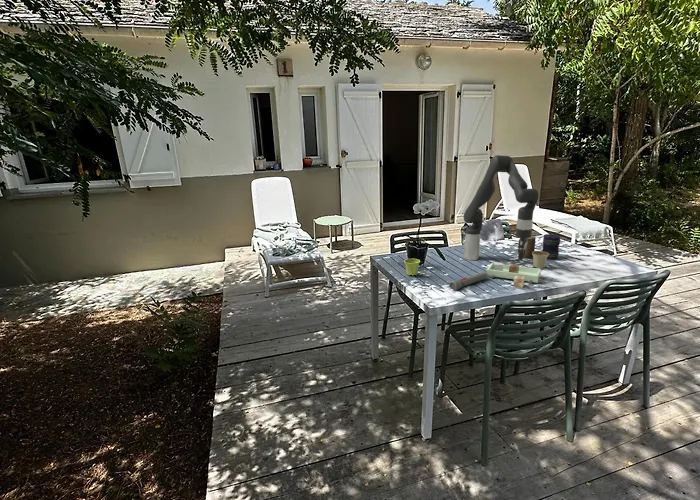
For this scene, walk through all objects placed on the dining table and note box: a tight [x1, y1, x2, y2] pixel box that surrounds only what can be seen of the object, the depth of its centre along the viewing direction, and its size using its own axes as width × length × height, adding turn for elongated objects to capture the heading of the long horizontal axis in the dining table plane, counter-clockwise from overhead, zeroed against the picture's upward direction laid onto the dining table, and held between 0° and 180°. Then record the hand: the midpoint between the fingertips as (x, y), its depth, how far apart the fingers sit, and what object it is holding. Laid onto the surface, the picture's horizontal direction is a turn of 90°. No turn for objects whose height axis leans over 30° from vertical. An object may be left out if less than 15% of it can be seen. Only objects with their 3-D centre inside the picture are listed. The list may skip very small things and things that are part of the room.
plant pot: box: [403, 258, 421, 277], centre depth 228 cm, size 9×9×9 cm
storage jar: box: [541, 233, 561, 261], centre depth 251 cm, size 10×10×15 cm
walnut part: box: [509, 263, 520, 273], centre depth 220 cm, size 4×4×5 cm
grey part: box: [494, 261, 504, 271], centre depth 224 cm, size 4×4×5 cm
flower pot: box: [532, 250, 549, 269], centre depth 236 cm, size 9×9×9 cm
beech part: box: [513, 276, 525, 289], centre depth 206 cm, size 4×4×5 cm
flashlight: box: [449, 271, 489, 291], centre depth 212 cm, size 5×28×5 cm, turn 124°
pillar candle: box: [517, 235, 536, 259], centre depth 255 cm, size 10×10×15 cm
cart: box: [485, 262, 542, 285], centre depth 220 cm, size 27×16×4 cm, turn 59°
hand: (521, 257), depth 203 cm, fingers open, 8 cm apart
